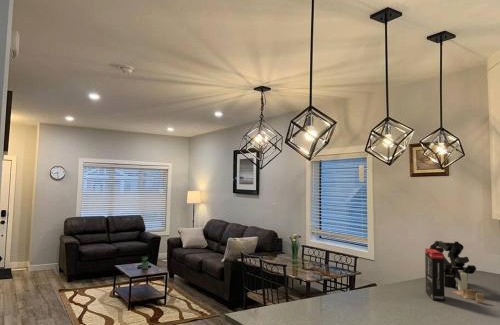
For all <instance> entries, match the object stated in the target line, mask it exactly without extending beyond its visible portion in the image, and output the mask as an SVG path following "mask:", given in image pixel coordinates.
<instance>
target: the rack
mask: <svg viewBox="0 0 500 325" xmlns="http://www.w3.org/2000/svg"><path fill="white" fill-rule="evenodd" d="M463 292H464V295H461V297H462V298H464V299H468V300H475V303H476V304H485V294H484V293H477V290H474V289H471V288H469V289H468V288H467V289H463Z"/></svg>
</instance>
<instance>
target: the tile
mask: <svg viewBox="0 0 500 325" xmlns="http://www.w3.org/2000/svg"><path fill="white" fill-rule="evenodd" d="M451 292H452V293H454V294H456V295H458V296H462V295H464V292H461V291H459V290H451Z"/></svg>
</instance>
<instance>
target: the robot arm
mask: <svg viewBox="0 0 500 325" xmlns="http://www.w3.org/2000/svg"><path fill="white" fill-rule="evenodd" d="M429 249H435V250H437V251H439V252H441V253H442V254H444V251H445V252H448V253H447V258H449V260H450V262H449V261H448V259H447V258H446V257H445V256H444V288H445V287H447V288H454V289H455V288H456V287H457V281H458V280H460V281H461V278H460V275H459V273H458V272H460V271H461V272H464V273H467V282H468V279H469V278H468V276H469V275H470V274H471V275H473V274H474V273H475V272H476V270H477V267H476V266H475V265H473V264H469V265H468V264H467V263H469V262H470V259H469V257H468V256H464V257H460V256H459V255H461V253H462V252H463V251H464V245H463V244H461V243H459V241H454V242H446V241H445V242H444V241H442V240H435V241H434V242H433V243H432V244H430V246H429ZM466 264H467V266H465V265H466ZM468 274H469V275H468ZM456 279H457V280H456Z"/></svg>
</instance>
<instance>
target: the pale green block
mask: <svg viewBox="0 0 500 325" xmlns="http://www.w3.org/2000/svg"><path fill="white" fill-rule="evenodd" d="M458 273H459V275H460V278H461V281H460V280H458V279H457V286H458V287H457V288H458V290H457V291H461V292H463V289H468V281H467V273H464V272H463V271H459V272H458Z"/></svg>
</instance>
